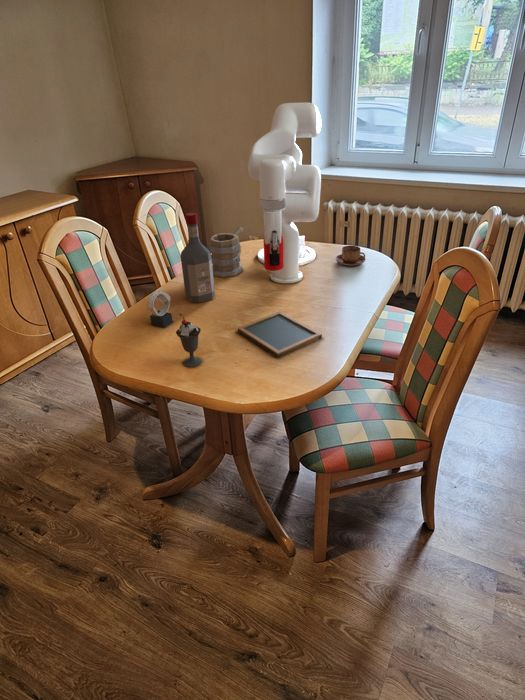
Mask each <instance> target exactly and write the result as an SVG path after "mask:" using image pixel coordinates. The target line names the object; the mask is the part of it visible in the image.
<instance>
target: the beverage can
mask: <svg viewBox="0 0 525 700" xmlns="http://www.w3.org/2000/svg"><path fill="white" fill-rule="evenodd" d="M271 243H273V241H271ZM272 247H273V245H272ZM263 248H264V263H263V265H264V266H263V267H264V269H265V270H266V271H267V272H270V273H272V272H278V271H280V270H281V269H283V267H284V243H283V236H282V234H281V243H280V244H279V253H280V265H278V266H270V264H269V253H270V243H269V244H267V245H266V244H265V239H264V238H263Z"/></svg>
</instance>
